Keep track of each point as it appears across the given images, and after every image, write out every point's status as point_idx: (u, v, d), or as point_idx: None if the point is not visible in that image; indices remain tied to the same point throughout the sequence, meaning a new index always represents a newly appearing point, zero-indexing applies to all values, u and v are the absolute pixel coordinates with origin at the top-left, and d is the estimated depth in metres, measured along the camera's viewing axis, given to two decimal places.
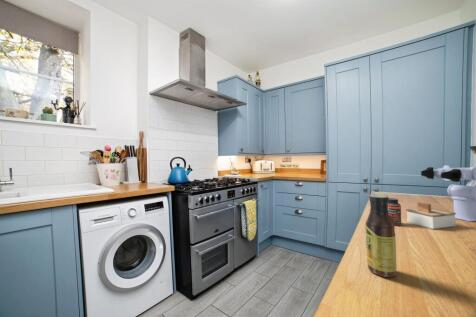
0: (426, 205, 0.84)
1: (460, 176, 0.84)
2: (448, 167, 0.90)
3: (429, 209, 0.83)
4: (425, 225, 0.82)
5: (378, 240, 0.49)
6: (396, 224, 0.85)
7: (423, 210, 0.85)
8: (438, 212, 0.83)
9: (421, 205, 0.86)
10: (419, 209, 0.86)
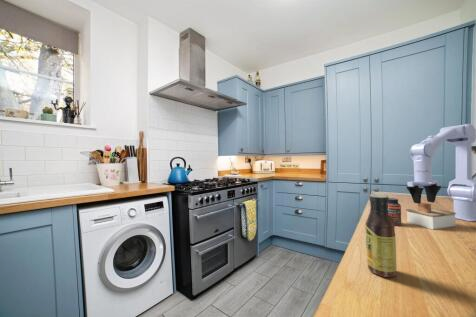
0: (426, 205, 0.84)
1: None
2: (433, 183, 0.83)
3: (429, 209, 0.83)
4: (425, 225, 0.82)
5: (378, 240, 0.49)
6: (396, 224, 0.85)
7: (423, 210, 0.85)
8: (438, 212, 0.83)
9: (421, 205, 0.86)
10: (419, 209, 0.86)
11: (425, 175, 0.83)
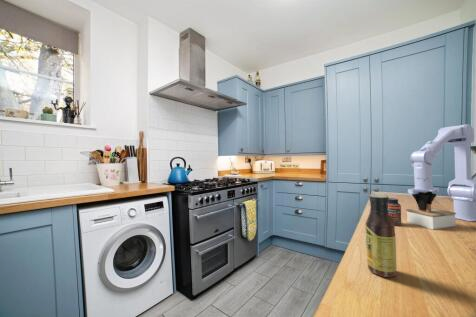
0: (426, 205, 0.84)
1: None
2: None
3: (429, 209, 0.83)
4: (425, 225, 0.82)
5: (379, 240, 0.49)
6: (396, 224, 0.85)
7: (423, 210, 0.85)
8: (438, 212, 0.83)
9: None
10: None
11: (425, 182, 0.83)
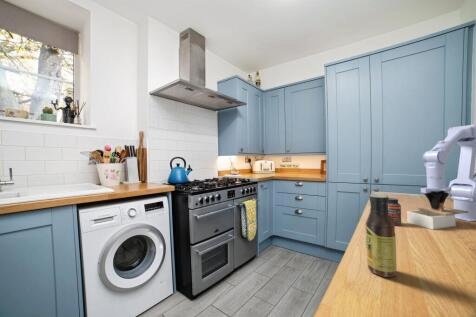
0: (439, 204, 0.85)
1: None
2: None
3: (442, 208, 0.85)
4: (425, 225, 0.82)
5: (379, 240, 0.49)
6: (396, 224, 0.85)
7: (436, 209, 0.86)
8: (451, 211, 0.85)
9: None
10: (431, 208, 0.88)
11: (438, 182, 0.84)
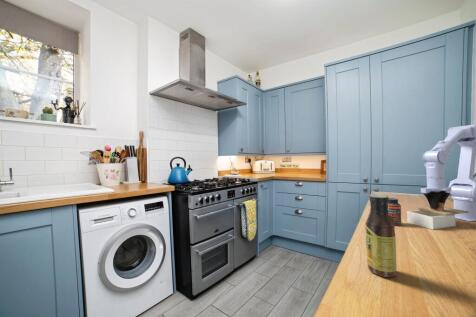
0: (439, 204, 0.85)
1: None
2: None
3: (442, 208, 0.85)
4: (425, 225, 0.82)
5: (378, 240, 0.49)
6: (396, 224, 0.85)
7: (436, 209, 0.86)
8: (451, 211, 0.85)
9: None
10: None
11: (438, 182, 0.84)
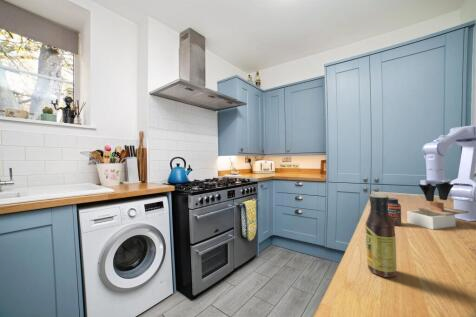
0: (439, 204, 0.85)
1: None
2: (445, 181, 0.84)
3: (442, 208, 0.85)
4: (425, 225, 0.82)
5: (379, 240, 0.49)
6: (396, 224, 0.85)
7: (436, 209, 0.86)
8: (451, 211, 0.85)
9: (434, 204, 0.87)
10: (431, 208, 0.88)
11: (438, 173, 0.84)
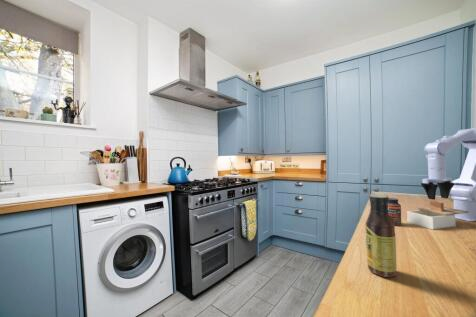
0: (439, 204, 0.85)
1: None
2: None
3: (442, 208, 0.85)
4: (425, 225, 0.82)
5: (379, 240, 0.49)
6: (396, 224, 0.85)
7: (436, 209, 0.86)
8: (451, 211, 0.85)
9: (434, 204, 0.87)
10: (431, 208, 0.88)
11: (439, 172, 0.87)
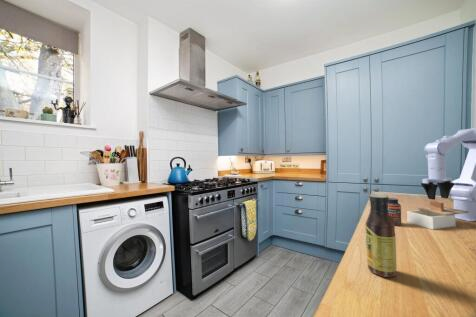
0: (439, 204, 0.85)
1: None
2: None
3: (442, 208, 0.85)
4: (425, 225, 0.82)
5: (379, 240, 0.49)
6: (396, 224, 0.85)
7: (436, 209, 0.86)
8: (451, 211, 0.85)
9: (434, 204, 0.87)
10: (431, 208, 0.88)
11: (439, 172, 0.87)
